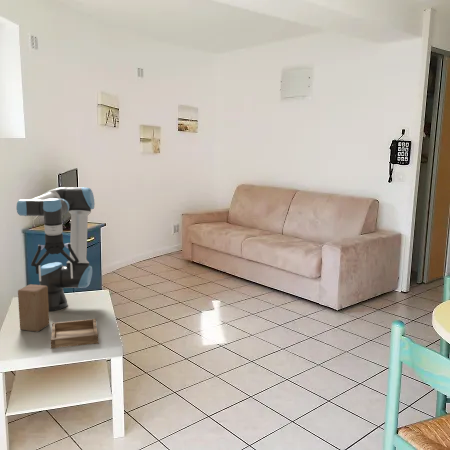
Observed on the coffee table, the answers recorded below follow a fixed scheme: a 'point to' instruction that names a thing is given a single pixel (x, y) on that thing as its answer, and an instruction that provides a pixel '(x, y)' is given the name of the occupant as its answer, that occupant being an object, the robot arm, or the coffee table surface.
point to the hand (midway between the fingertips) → (56, 279)
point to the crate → (74, 333)
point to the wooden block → (33, 307)
